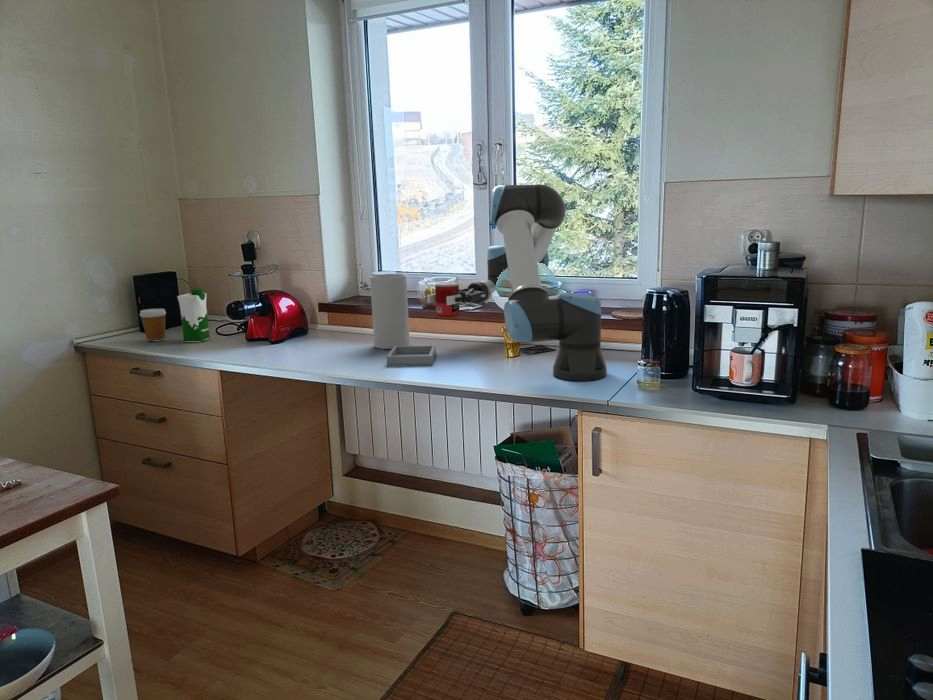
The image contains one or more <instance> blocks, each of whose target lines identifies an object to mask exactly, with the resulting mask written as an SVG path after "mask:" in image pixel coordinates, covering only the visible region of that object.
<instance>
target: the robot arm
mask: <svg viewBox="0 0 933 700" xmlns="http://www.w3.org/2000/svg"><path fill="white" fill-rule="evenodd" d="M491 191H492V192H491V197H490V209H489V223H490V224H491V225H494V226H495V225H496V229H497V230H498V232H499V233H500V234H502V236H503V243H504V245H490V246H489V247H487V254H486V255H487V258H486V261H487V262H486V263H487V280H481V281H476V282H475V281H474V282H472V283H470V284H469V285H468V286H467V287H466V288H462V289H461V288H459V295H453V296H448V297H446V298H447V305H452V304H457V303H459V304H461V303H472V304H475V305H476V304H482V303H485V304H488V303H489V302H492V301H494V300H493V298H492V293H493V292H494V290H495V285H496V282H497V280H498V278H497V277H499V275H500V274H501V272H503V270H505V269H506V268H507V267H508V270H509V272H508V277H509V278H510V282H511V289H512V294H511V295H510V296H509V297H507V298H508V299H507V301H506V302H504V307H503V315H504V324H505V327H506V328H505V329H506V332H507V334H508V336H509V338H510V339H511V340H513V342H516V343H530V342H531V343H533V342H548V341H559V343H558V344H559V345H558V346H559V347H558V350H557V351H558V352H557V355H556V357H555V361H554V364H553V367H552V369H553V370H552V375H553V377H555V376H556V377H555V378H557V377H558V378H557V379H560V378H562V379H561V380H564V379H568V380H567V381H571V380H580V381H579V382H587V381H589V382H591V381H596V380H597V381H598V380H601V379H604V378H606V377H607V375H608V374H607V365H606V362H605V359H604V355H603V351H602V348H601V347H602V345H601V344H602V343H601V340H602V337H601V336H602V315H603V314H602V313H603V312H602V306H601V305H602V304H601V300H600V299H599V298H598V297H596V296H594V295H588V294H584V293H583V294H582V293H575V292H573V293H572V292H560V293H559V295H558V298H550V297H549V293H548V291H547V290H546V289H545V288H543V287H542V283H541V282H542V281H541V277H540V272H539V271H540V270H539V271H538V265H537V262H539V263H543V264H545V265H546V266H547V267H549V263H550V257H549V252H548V249H549V246H550V245H551V241H552V240H553V237H554V235H555V233H556V230H557V229H558V228H559V227H560V226H561V225H562V224H563V221H564V219H565V218H566V204H565V202H564V199H563V197H562V196H561V195H560V193H559V192H558V191H556V190H555V189H554V188H552V187H551V186H550V185H547V184H540V183H539V184H538V183H537V184H505V185H497V186H496V185H495V186H494V187H493V189H492V190H491ZM426 296H427V297H426V298H427V299H426V300H427V304H432V303H436V294H435V293H432V294H427V295H426Z"/></svg>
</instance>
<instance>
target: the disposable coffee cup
mask: <svg viewBox="0 0 933 700" xmlns="http://www.w3.org/2000/svg"><path fill="white" fill-rule="evenodd" d="M139 312H140V313H139V314H138V315H139V316H140V319H141V322H142V326H143V329H144V333H145V336H146V337H145V338H146V340H149V341H154V340H161V339H164V338H165V339H166V314H167V311H166V309H165V308H149V309H147V308H146V309H142V310H140V311H139Z"/></svg>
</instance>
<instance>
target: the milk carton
mask: <svg viewBox="0 0 933 700" xmlns="http://www.w3.org/2000/svg"><path fill="white" fill-rule="evenodd" d="M176 298H177V301H178V305H179V309H180V310H179V311H180V320H181V326H182V327H181V328H182V337H183V338H182V339H183V342H184V341H202V340H204V339H206V338H209V337H210V338H211V335H210V329H209V320H208V310H207V293H206V292H203V288H191V289H190V293H185V294H181V295H177V296H176Z"/></svg>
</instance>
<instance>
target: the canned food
mask: <svg viewBox="0 0 933 700" xmlns="http://www.w3.org/2000/svg"><path fill="white" fill-rule="evenodd" d="M434 287H435V289H434V290H435V291H434V294H436V302H435V312H436V313H435V314H436V317H438V318H441V319H442V318H447V319H448V318H457V317H459V316H460V303H457V304H452V305H447V298H446V297H448V296H453V295H459V290H460V285H459V283H458V282H455V281H454V282H451V281H449V282H448V281H447V282H436V283H435V285H434Z"/></svg>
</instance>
